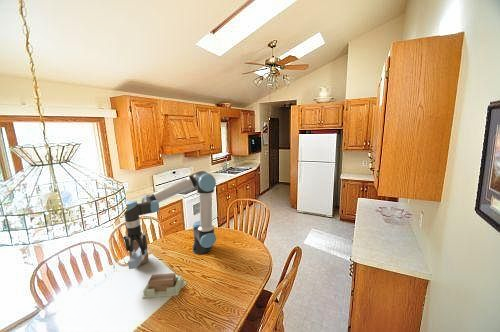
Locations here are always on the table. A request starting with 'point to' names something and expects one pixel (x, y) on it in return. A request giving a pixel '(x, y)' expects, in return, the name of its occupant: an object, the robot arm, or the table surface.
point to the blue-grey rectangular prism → (136, 259)
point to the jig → (169, 291)
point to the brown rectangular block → (162, 281)
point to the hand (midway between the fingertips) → (138, 259)
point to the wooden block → (137, 249)
